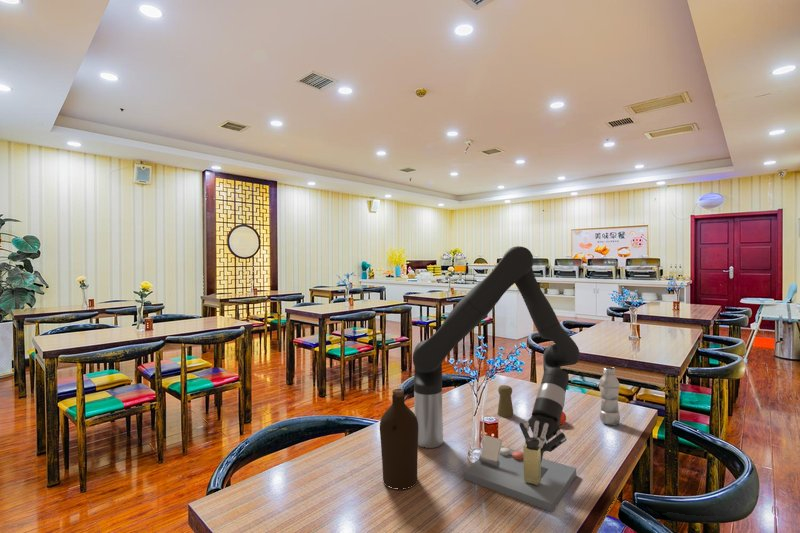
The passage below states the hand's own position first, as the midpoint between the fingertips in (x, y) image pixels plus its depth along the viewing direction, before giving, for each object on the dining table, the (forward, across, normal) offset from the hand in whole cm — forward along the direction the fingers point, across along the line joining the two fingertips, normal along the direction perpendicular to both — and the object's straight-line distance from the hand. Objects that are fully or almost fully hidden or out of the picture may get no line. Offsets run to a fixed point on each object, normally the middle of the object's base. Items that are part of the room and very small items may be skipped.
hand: (534, 463), depth 106 cm
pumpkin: (-27, -9, +36) cm, 46 cm away
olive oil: (+18, -30, -8) cm, 36 cm away
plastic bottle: (-34, +7, +43) cm, 55 cm away
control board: (+3, -5, +6) cm, 8 cm away
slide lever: (+4, 0, +2) cm, 5 cm away
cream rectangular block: (+4, -13, +3) cm, 14 cm away
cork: (-24, -26, +34) cm, 49 cm away
